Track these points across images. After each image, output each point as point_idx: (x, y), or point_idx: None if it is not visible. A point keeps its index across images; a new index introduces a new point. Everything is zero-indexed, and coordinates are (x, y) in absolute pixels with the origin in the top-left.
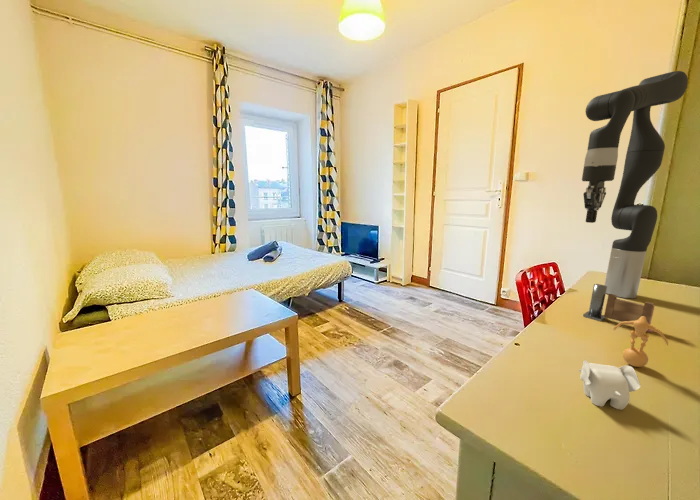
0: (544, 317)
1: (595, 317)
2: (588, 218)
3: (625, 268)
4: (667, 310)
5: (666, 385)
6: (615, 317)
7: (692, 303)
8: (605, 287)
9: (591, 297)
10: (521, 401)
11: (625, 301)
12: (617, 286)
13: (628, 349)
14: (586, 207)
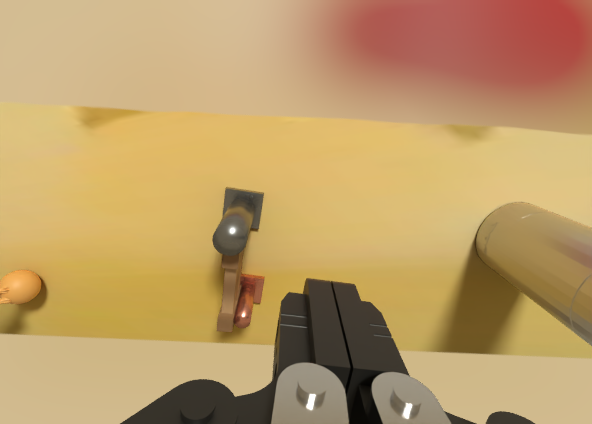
0: (130, 115)
1: (224, 212)
2: (279, 317)
3: (540, 283)
4: (428, 317)
5: (5, 311)
6: None
7: (529, 353)
8: (221, 252)
9: (233, 211)
10: None
11: (227, 282)
12: (496, 243)
13: (2, 284)
14: (171, 411)
